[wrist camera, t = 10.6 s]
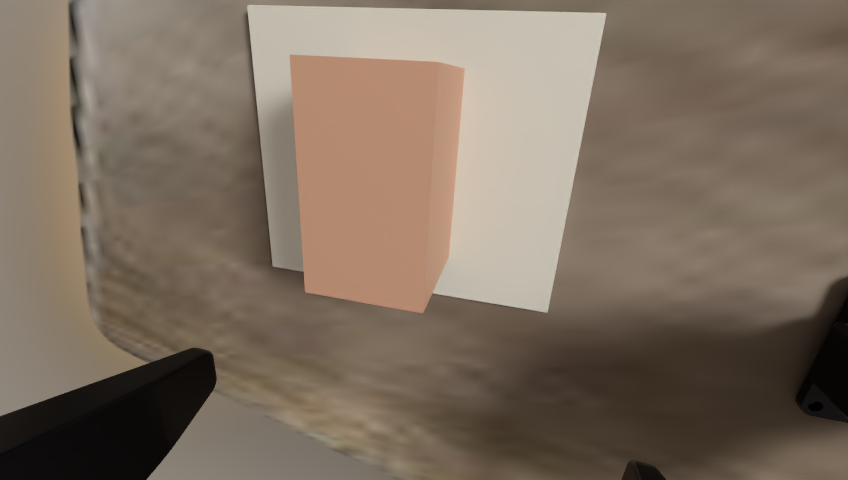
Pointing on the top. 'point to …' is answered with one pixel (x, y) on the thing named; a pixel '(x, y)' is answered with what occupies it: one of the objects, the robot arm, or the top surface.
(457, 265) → the mat
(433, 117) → the tan rectangular block
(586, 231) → the top surface
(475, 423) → the top surface
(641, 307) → the top surface
